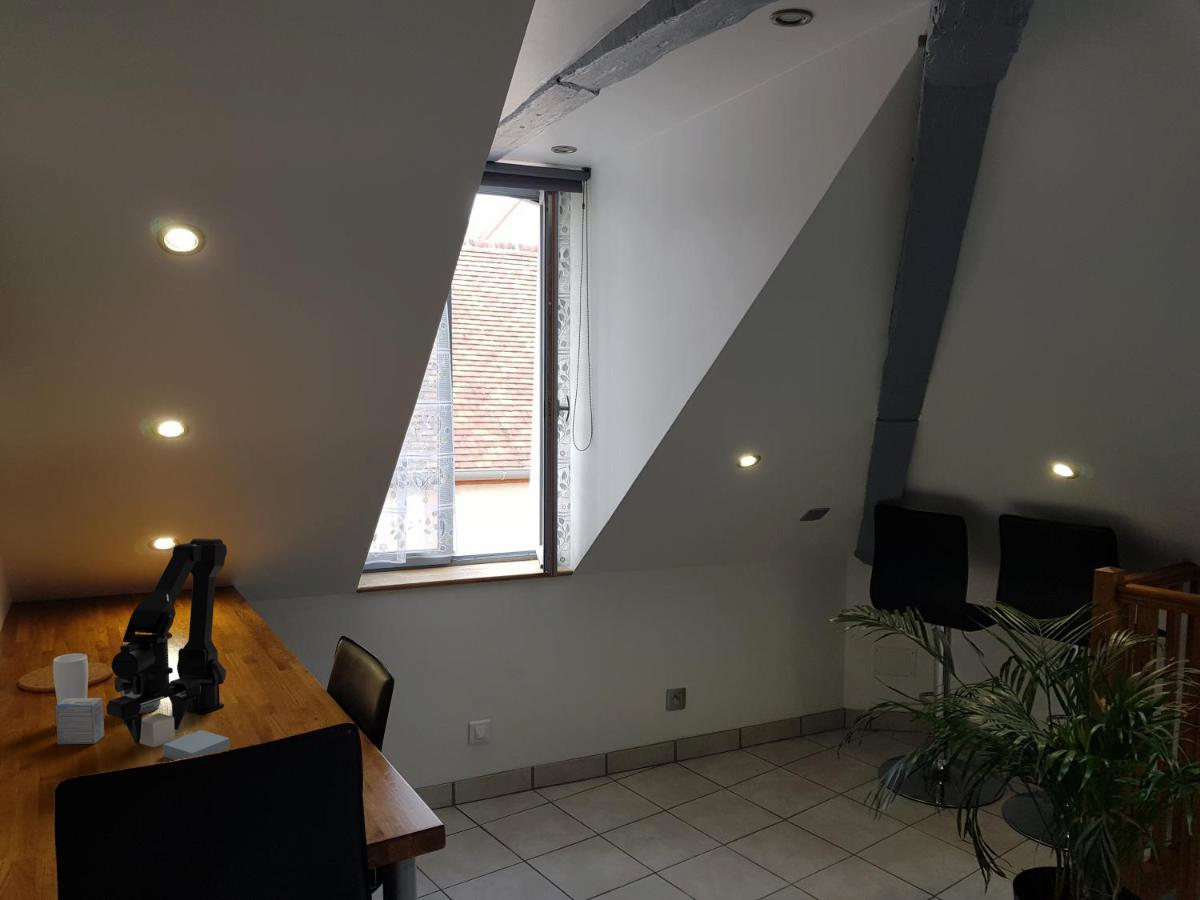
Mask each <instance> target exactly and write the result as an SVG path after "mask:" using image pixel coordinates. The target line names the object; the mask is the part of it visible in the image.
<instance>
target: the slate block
mask: <svg viewBox="0 0 1200 900" xmlns="http://www.w3.org/2000/svg"><path fill="white" fill-rule="evenodd" d="M230 745H231V743H230V738H229V737H226V736H223V735H220V734H216V733H212V732H209V731H206V730H203V729H200V730H198V731H195V732H192V733H190V734H186V735H185V736H182V737H179V738H177V739H176V738H175V740H172V741H170V742H167V743H164V744H162V746H163V749H162V751H163V757H164V758H167V759H170V758H172V759H171V760H173V761H176V760H177V759H183V758H189V757H195V756H200V755H206V754H211V753H215V752H219V751H223V750H227V749H230V750H231V746H230Z"/></svg>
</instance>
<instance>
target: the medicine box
mask: <svg viewBox="0 0 1200 900" xmlns="http://www.w3.org/2000/svg"><path fill="white" fill-rule="evenodd" d="M103 707H104V705H103V698H102V697H87V698H67V699H65V700H63V701H61V702H60V703H59V704H56V705H55V718H56V719H55V720H56V733H57V744H58V745H80V744H81V745H82V744H83V745H84V744H85V745H87V744H88V745H91V744H96V743H98V742H99V741H100V740H102V739H103V737H105V724H104V708H103Z"/></svg>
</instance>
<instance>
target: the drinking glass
mask: <svg viewBox="0 0 1200 900" xmlns="http://www.w3.org/2000/svg"><path fill="white" fill-rule="evenodd" d="M52 662H53V663H52V667H53V668H52V671H53V682H54V683H53V684H54V689H55V696H56V701H57V702H56V703H57V704H59V703H60V702H61V701H63V700H65V699H67V698H88V690H89V689H88V688H89V687H88V686H89V685H88V684H89V663H88V655H87V654H86V653H68V654H67V653H66V654H63V655H59V656H56V657H54V658H53V661H52ZM57 704H56V705H57Z"/></svg>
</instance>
